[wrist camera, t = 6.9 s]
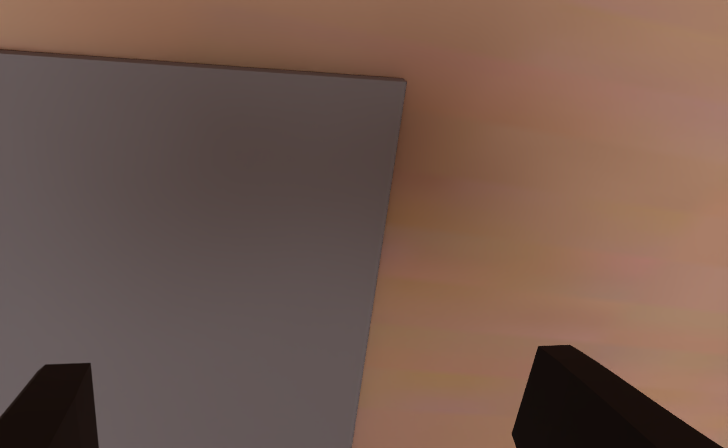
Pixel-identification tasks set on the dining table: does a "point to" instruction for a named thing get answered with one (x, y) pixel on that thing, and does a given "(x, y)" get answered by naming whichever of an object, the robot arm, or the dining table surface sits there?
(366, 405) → the dining table surface
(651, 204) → the dining table surface
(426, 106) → the dining table surface
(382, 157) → the mat
